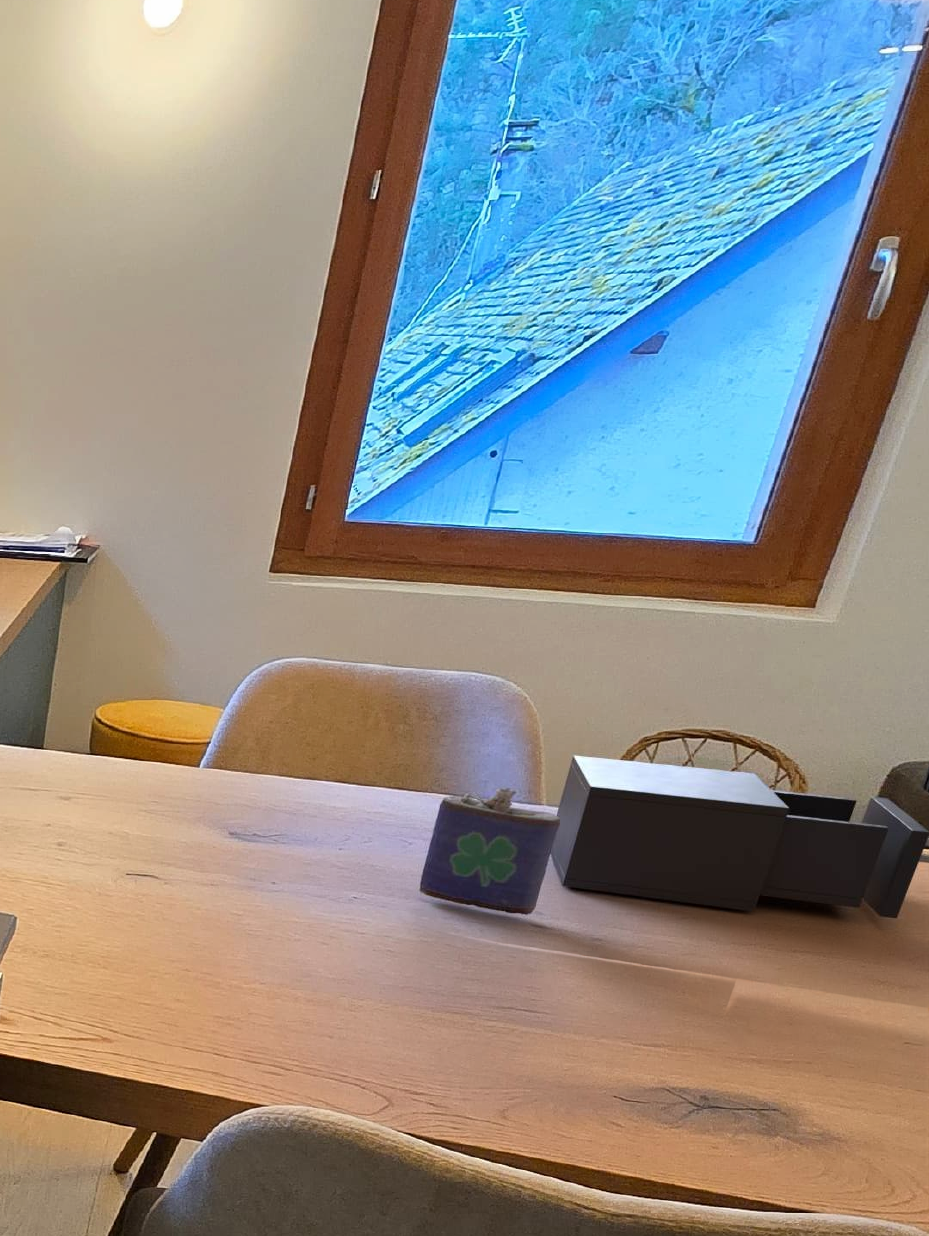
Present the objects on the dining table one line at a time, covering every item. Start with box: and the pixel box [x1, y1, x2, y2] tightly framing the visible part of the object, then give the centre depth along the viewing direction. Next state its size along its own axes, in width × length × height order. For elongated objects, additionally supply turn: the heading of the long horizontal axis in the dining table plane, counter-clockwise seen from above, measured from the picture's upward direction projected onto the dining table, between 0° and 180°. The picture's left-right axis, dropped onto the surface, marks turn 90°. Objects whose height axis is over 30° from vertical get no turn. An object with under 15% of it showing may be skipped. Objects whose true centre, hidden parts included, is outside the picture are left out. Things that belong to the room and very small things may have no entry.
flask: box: [418, 787, 560, 916], centre depth 121 cm, size 9×3×11 cm, turn 52°
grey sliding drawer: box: [760, 789, 929, 919], centre depth 123 cm, size 19×11×8 cm, turn 64°
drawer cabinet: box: [550, 755, 789, 912], centre depth 128 cm, size 15×13×10 cm
